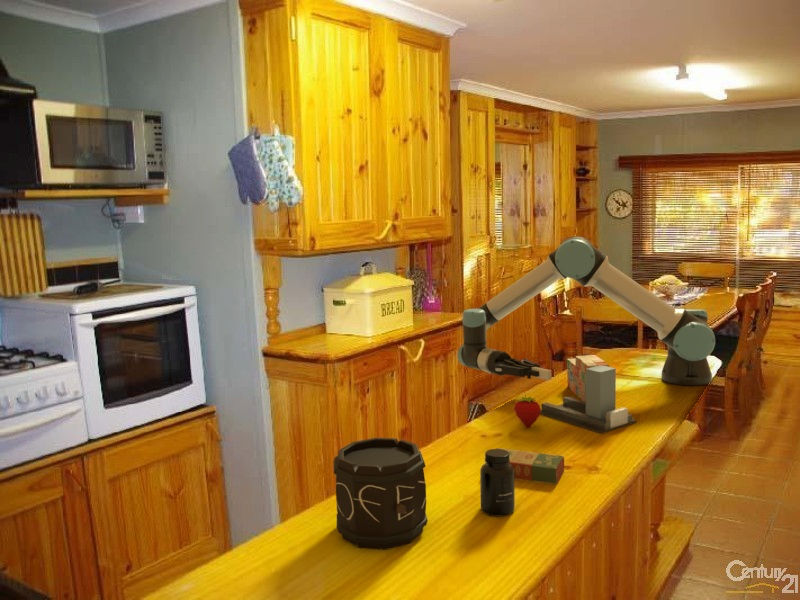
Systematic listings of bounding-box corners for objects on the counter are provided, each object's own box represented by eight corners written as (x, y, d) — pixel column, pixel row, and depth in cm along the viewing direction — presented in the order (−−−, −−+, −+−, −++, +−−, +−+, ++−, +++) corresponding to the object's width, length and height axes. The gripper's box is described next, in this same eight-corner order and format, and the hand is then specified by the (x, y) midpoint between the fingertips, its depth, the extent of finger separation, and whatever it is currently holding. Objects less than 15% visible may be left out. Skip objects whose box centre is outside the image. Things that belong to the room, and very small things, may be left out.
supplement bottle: (506, 520, 139) (505, 461, 138) (475, 513, 143) (473, 455, 141) (520, 506, 145) (519, 449, 143) (489, 499, 149) (488, 444, 147)
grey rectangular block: (600, 414, 197) (600, 365, 195) (615, 418, 193) (615, 368, 191) (585, 419, 194) (585, 368, 192) (600, 423, 190) (600, 372, 188)
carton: (496, 463, 169) (496, 446, 168) (565, 472, 162) (564, 454, 162) (485, 476, 161) (485, 458, 161) (557, 486, 155) (556, 467, 154)
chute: (571, 403, 212) (571, 388, 211) (636, 422, 193) (636, 405, 192) (537, 413, 204) (537, 397, 203) (601, 433, 185) (601, 416, 184)
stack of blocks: (566, 386, 230) (566, 349, 228) (586, 385, 230) (585, 348, 228) (587, 406, 208) (587, 365, 207) (609, 405, 209) (609, 364, 207)
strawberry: (532, 433, 187) (532, 396, 185) (509, 427, 192) (508, 391, 191) (545, 428, 191) (545, 391, 189) (523, 422, 196) (522, 386, 195)
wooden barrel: (354, 563, 126) (350, 478, 123) (323, 521, 142) (319, 446, 139) (446, 539, 133) (443, 458, 130) (406, 503, 149) (403, 430, 146)
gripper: (510, 369, 231) (565, 383, 212) (479, 377, 224) (533, 392, 205) (510, 347, 230) (564, 359, 211) (478, 353, 223) (532, 366, 204)
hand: (549, 375), depth 208 cm, fingers closed
